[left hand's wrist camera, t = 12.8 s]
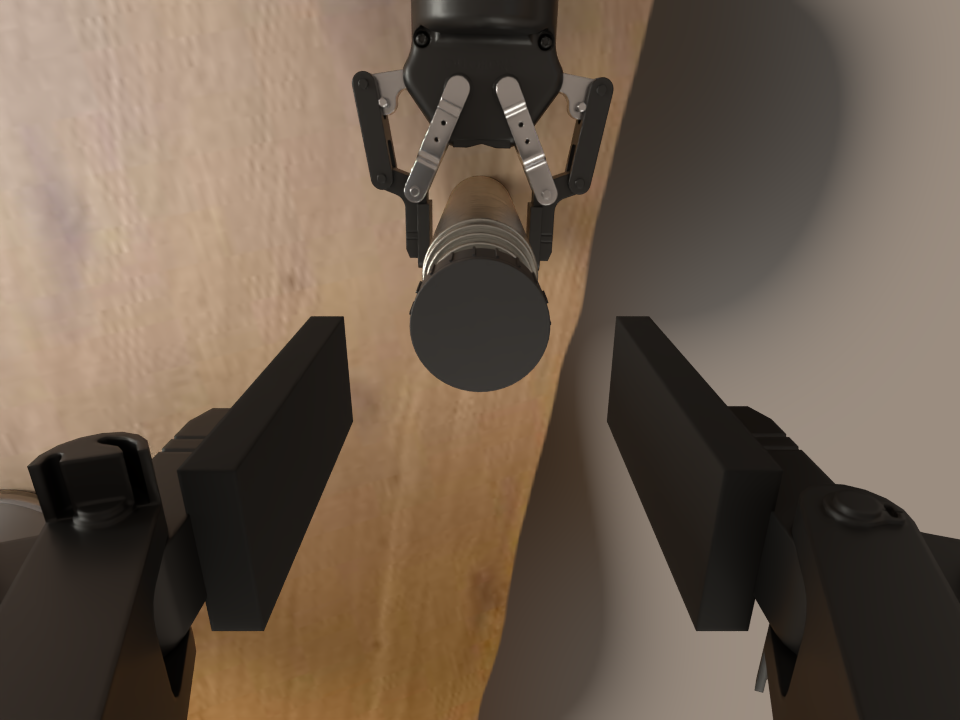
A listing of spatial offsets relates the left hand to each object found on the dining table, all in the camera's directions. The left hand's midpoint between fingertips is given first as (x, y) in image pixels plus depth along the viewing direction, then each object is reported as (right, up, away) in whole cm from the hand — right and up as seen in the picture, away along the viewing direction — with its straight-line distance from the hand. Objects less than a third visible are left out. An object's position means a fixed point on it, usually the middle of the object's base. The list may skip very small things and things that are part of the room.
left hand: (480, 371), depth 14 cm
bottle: (0, +10, +26) cm, 28 cm away
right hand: (0, +6, +21) cm, 22 cm away
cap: (0, +1, +3) cm, 3 cm away
